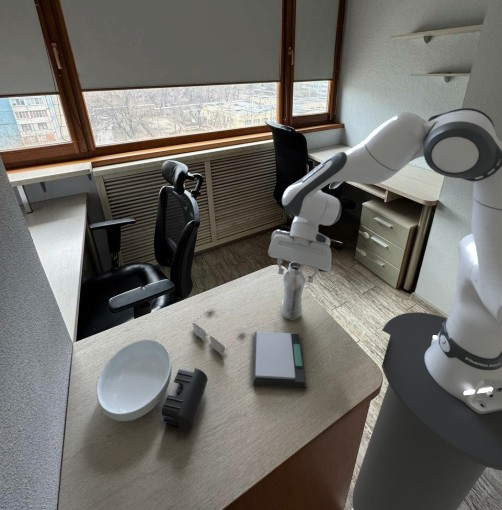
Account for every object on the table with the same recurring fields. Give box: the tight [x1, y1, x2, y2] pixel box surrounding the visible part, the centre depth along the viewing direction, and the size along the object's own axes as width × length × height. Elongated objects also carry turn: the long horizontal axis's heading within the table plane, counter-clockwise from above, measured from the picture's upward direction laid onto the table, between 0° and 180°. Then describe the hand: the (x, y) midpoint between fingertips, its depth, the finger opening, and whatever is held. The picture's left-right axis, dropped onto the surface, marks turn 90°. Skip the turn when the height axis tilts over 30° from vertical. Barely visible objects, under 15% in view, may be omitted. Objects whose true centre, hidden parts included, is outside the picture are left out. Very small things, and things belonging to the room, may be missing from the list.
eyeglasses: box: [191, 311, 243, 355], centre depth 81 cm, size 14×8×4 cm, turn 54°
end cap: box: [161, 367, 209, 433], centre depth 63 cm, size 10×7×7 cm
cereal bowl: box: [95, 339, 173, 422], centre depth 66 cm, size 17×17×7 cm
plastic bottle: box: [280, 262, 306, 321], centre depth 84 cm, size 6×7×20 cm
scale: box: [252, 331, 306, 389], centre depth 74 cm, size 13×13×3 cm
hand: (295, 278), depth 84 cm, fingers open, 8 cm apart
